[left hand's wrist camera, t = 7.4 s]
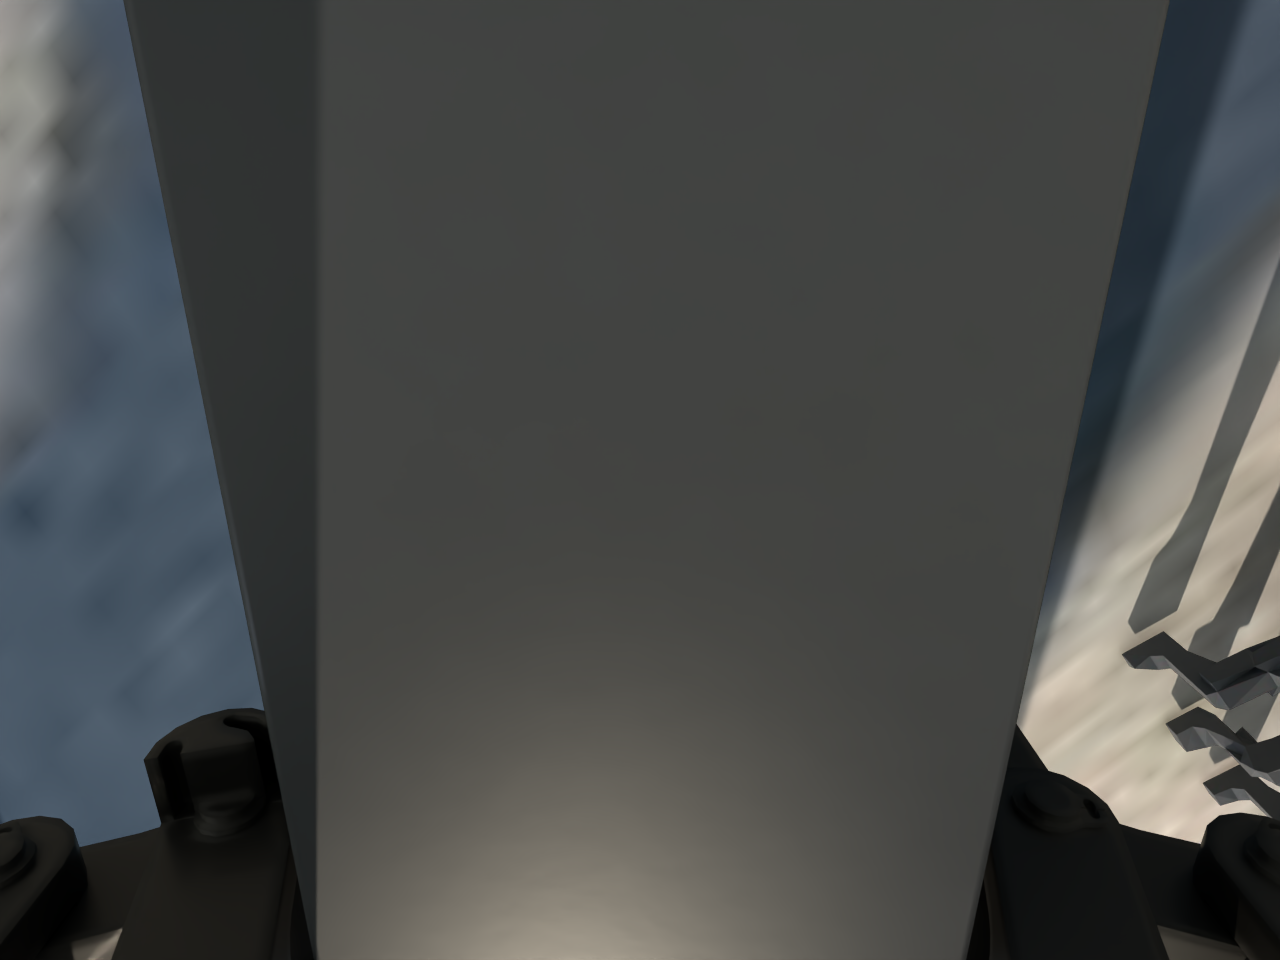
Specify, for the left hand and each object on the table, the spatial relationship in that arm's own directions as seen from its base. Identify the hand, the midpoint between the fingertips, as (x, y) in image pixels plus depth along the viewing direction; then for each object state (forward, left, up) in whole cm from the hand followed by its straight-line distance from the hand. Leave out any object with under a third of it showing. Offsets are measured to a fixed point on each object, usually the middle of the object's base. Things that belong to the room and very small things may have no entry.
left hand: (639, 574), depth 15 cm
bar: (+6, +6, -1) cm, 8 cm away
